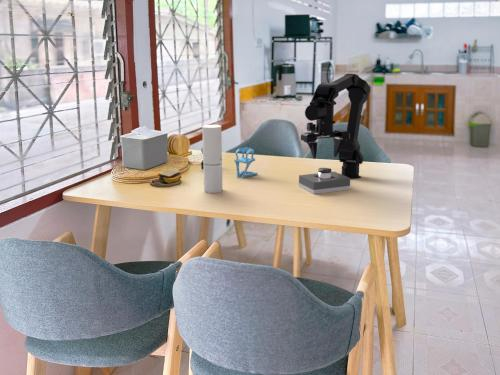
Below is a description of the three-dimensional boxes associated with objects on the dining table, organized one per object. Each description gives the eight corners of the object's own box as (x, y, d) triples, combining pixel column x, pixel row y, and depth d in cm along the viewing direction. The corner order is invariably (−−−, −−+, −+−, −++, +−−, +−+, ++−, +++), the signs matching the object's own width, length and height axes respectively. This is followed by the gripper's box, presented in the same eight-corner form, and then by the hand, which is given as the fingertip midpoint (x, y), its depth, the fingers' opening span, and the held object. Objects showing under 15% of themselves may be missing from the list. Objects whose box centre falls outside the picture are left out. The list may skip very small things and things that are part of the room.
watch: (200, 169, 245) (200, 145, 242) (203, 165, 253) (202, 142, 250) (213, 170, 245) (212, 145, 242) (215, 165, 253) (214, 142, 250)
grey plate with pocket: (333, 182, 223) (334, 171, 222) (349, 189, 212) (350, 178, 211) (298, 186, 217) (299, 175, 216) (313, 194, 206) (313, 182, 205)
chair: (232, 176, 233) (231, 149, 230) (242, 172, 240) (242, 145, 237) (247, 178, 229) (247, 150, 226) (257, 174, 236) (257, 147, 233)
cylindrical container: (225, 188, 214) (224, 125, 208) (218, 193, 208) (216, 128, 201) (208, 187, 217) (206, 124, 210) (201, 191, 210) (199, 127, 203)
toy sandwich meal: (143, 183, 224) (143, 172, 223) (170, 177, 233) (170, 166, 232) (161, 189, 215) (161, 177, 214) (189, 183, 224) (188, 171, 223)
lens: (326, 182, 217) (327, 167, 216) (333, 185, 213) (333, 170, 211) (315, 183, 215) (316, 168, 214) (321, 186, 211) (322, 171, 209)
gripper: (335, 113, 219) (334, 151, 223) (294, 116, 212) (293, 155, 216) (351, 117, 209) (349, 157, 213) (308, 120, 202) (307, 161, 206)
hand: (324, 157), depth 213 cm, fingers open, 9 cm apart
